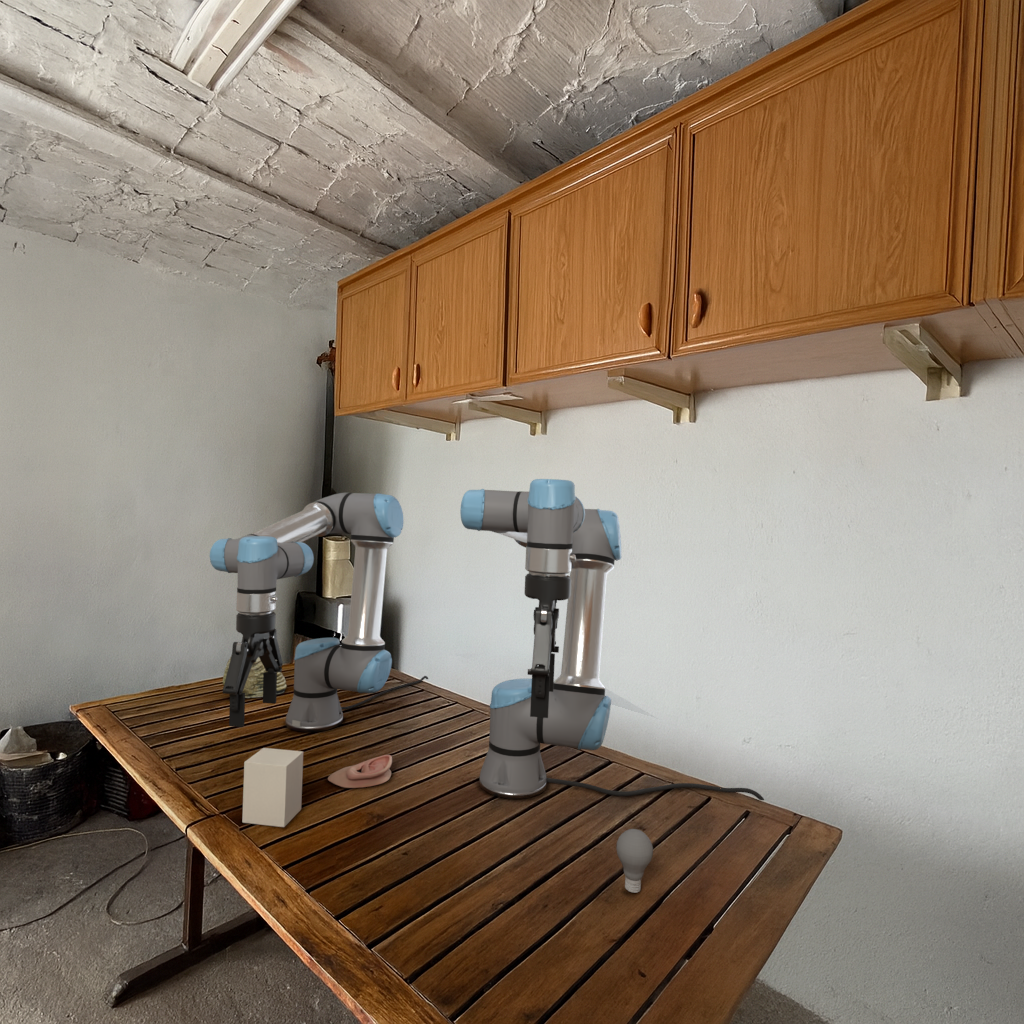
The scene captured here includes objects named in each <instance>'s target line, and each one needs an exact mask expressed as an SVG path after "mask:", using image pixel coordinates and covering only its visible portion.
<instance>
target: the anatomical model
mask: <svg viewBox="0 0 1024 1024" xmlns="http://www.w3.org/2000/svg"><path fill="white" fill-rule="evenodd" d="M392 765H393V757H392V755H390V754H383V755H379V756H376V757H373V758H370V759H367V760H364V761H361V762H359V763H356V764H353V765H350V766H345V767H343V768H340V769H338V770H336V771H334V772H333V773H331V774H329V775H328V777H327V781H329V782H330V783H332V784H333V785H336V786H339V787H341V788H345V789H356V788H366V787H367V788H368V787H373V786H378V785H382V784H384V783H386V782H387V781H389V780H390V779H391V776H392V771H391V769H390V768H391V767H392Z"/></svg>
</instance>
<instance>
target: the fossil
mask: <svg viewBox="0 0 1024 1024" xmlns="http://www.w3.org/2000/svg"><path fill="white" fill-rule="evenodd" d="M231 656H232V654H231ZM231 656H230V657H229V659H228V660H227V663H226V666H225V668H224V671H223V675H222V676H223V677H222V685H223V686H224V683H225V679H226V676H227V672H228V668H229V664H230V660H231ZM265 672H268V671H266V670H265V668H264V666H263V664H262V662H261V660H260V658H259V657H258V658H257V660H256V662H255V663H253V665H252V667H251V670H250V673H249V675H248V678H247V681H246V684H245V686H244V689H243V692H242V693H245V699H250V698H263V673H265ZM276 673H277V694H276V695H281V694H284V693H285V691H286V689H287V687H288V686H287V680H286V678H285V676H284V674H283V673H282V671H281V672H276Z"/></svg>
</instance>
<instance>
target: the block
mask: <svg viewBox="0 0 1024 1024" xmlns="http://www.w3.org/2000/svg"><path fill="white" fill-rule="evenodd" d="M303 769H304V751H301V750H291V749H282V748H281V749H280V748H271V747H263V748H261V749H260V750H258V751H257V752H256V753H254V754H253V755H252V756H250V757H249V758H248V759H246V760H245V761H244V763H243V789H242V790H243V791H242V818H241V819H242V821H241V822H242V823H243V824H252V825H261V826H270V827H279V828H285V827H286V826H287V825H288V824H289V823H290V822H291V821H292V820H293V819H294V818H295V817H296V816H297V815H298V814H299V812H301V810H302V802H303V801H302V800H303V799H302V796H303V795H302V794H303V775H304V774H303V773H304V772H303V771H304V770H303Z"/></svg>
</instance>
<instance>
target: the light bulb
mask: <svg viewBox="0 0 1024 1024" xmlns="http://www.w3.org/2000/svg"><path fill="white" fill-rule="evenodd" d="M615 849H616V854H617V857H618V859H619V861H620V863H621V865H622V867H623V873H624V874H623V875H624V876H625V878H624V888H625V890H627V891H628V892H630V893H634V894H635V893H639V892H640V891H641V889H642V887H641V886H642V879H643V877H644V875H645V871H646V868H647V867H648V866H649V864H650V863H651V861H652V859H653V855H654V847H653V843H652V841H651V838H649V836H648V835H647V834H646V833H645V832H643V831H642V830H641V829H636V828H629V829H627V830H625V831H623V832H622V833H621V834H620V835H619V837H618V839H617V841H616V847H615Z"/></svg>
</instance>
